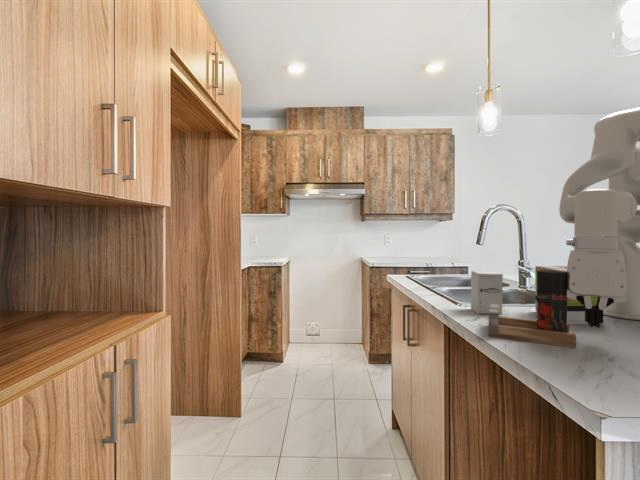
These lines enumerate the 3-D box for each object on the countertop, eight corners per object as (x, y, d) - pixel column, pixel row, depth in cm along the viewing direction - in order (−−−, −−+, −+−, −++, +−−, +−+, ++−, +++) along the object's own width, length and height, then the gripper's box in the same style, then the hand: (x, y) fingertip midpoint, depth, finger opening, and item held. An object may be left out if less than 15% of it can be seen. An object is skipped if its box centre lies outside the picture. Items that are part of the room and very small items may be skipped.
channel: (490, 324, 91) (490, 303, 91) (567, 333, 83) (568, 310, 83) (488, 336, 81) (488, 312, 80) (576, 348, 72) (576, 321, 72)
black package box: (572, 338, 76) (573, 273, 76) (545, 337, 77) (546, 272, 76) (556, 330, 82) (556, 270, 82) (531, 330, 83) (531, 270, 82)
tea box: (533, 311, 106) (534, 265, 106) (566, 312, 105) (567, 265, 105) (565, 324, 91) (566, 270, 91) (604, 325, 90) (605, 270, 90)
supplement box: (477, 314, 103) (477, 273, 103) (470, 308, 110) (470, 270, 110) (502, 315, 102) (503, 273, 101) (494, 309, 109) (494, 271, 109)
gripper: (556, 244, 75) (555, 325, 76) (645, 245, 68) (644, 335, 68) (552, 243, 82) (551, 318, 82) (633, 245, 75) (632, 326, 75)
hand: (593, 325), depth 75 cm, fingers closed
